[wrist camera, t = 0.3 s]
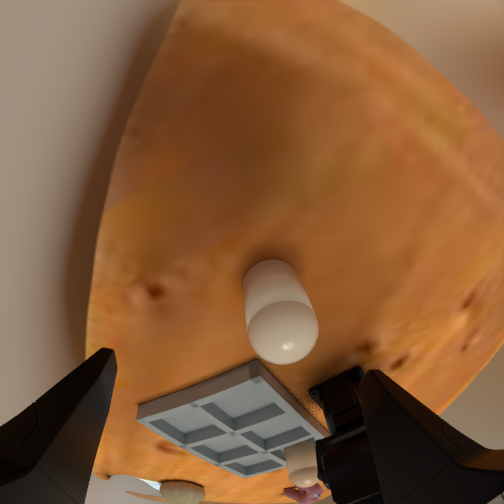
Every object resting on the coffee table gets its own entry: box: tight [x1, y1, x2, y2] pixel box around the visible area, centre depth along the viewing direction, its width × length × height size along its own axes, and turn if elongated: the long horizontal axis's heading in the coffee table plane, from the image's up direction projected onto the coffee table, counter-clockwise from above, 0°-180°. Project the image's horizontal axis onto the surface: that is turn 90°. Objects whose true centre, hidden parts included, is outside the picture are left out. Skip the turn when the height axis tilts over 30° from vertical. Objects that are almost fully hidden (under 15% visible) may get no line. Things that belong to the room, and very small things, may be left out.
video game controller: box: [284, 483, 322, 504], centre depth 44 cm, size 10×5×7 cm, turn 174°
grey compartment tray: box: [136, 359, 330, 478], centre depth 32 cm, size 24×16×2 cm
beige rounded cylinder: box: [283, 437, 319, 488], centre depth 32 cm, size 5×5×8 cm
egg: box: [242, 259, 319, 365], centre depth 20 cm, size 5×5×8 cm
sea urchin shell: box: [160, 481, 205, 504], centre depth 42 cm, size 9×8×8 cm
